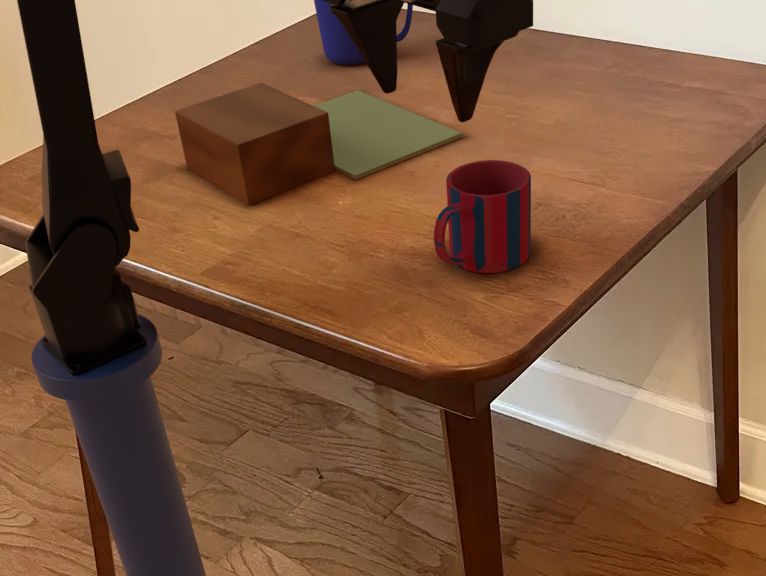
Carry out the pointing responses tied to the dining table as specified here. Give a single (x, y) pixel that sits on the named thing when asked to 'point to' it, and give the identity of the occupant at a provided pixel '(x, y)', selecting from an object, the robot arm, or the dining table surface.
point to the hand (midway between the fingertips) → (426, 105)
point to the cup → (486, 217)
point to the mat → (378, 133)
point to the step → (256, 142)
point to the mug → (344, 35)
